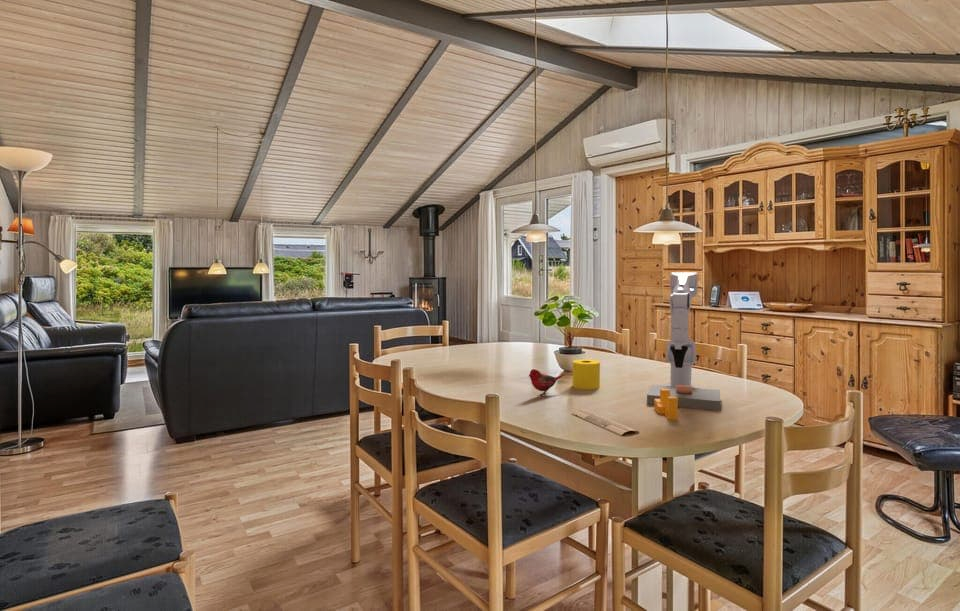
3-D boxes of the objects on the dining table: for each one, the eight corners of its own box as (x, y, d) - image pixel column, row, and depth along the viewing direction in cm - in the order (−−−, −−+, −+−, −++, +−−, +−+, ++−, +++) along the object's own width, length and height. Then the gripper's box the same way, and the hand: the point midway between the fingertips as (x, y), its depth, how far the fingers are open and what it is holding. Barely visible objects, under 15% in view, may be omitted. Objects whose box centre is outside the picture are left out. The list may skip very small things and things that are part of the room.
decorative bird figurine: (525, 397, 185) (525, 369, 184) (561, 390, 196) (561, 363, 195) (531, 399, 183) (531, 370, 182) (567, 391, 193) (567, 364, 193)
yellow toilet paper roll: (583, 382, 209) (583, 358, 208) (604, 386, 201) (605, 361, 201) (567, 386, 202) (567, 361, 201) (589, 390, 195) (589, 365, 194)
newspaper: (639, 435, 146) (639, 429, 146) (618, 439, 143) (618, 432, 143) (587, 414, 167) (587, 408, 167) (568, 416, 164) (568, 411, 164)
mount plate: (651, 392, 190) (652, 384, 190) (719, 398, 182) (719, 389, 181) (646, 403, 176) (647, 394, 175) (720, 410, 167) (720, 401, 167)
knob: (676, 397, 182) (676, 384, 181) (692, 399, 180) (692, 385, 179) (675, 401, 177) (675, 387, 177) (691, 402, 175) (691, 388, 175)
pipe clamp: (654, 408, 170) (654, 388, 170) (668, 409, 170) (668, 389, 169) (662, 419, 159) (662, 398, 158) (677, 419, 158) (677, 398, 158)
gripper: (691, 330, 174) (690, 372, 175) (693, 326, 187) (692, 364, 188) (668, 329, 177) (667, 370, 178) (671, 325, 190) (670, 363, 191)
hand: (678, 367), depth 183 cm, fingers closed
